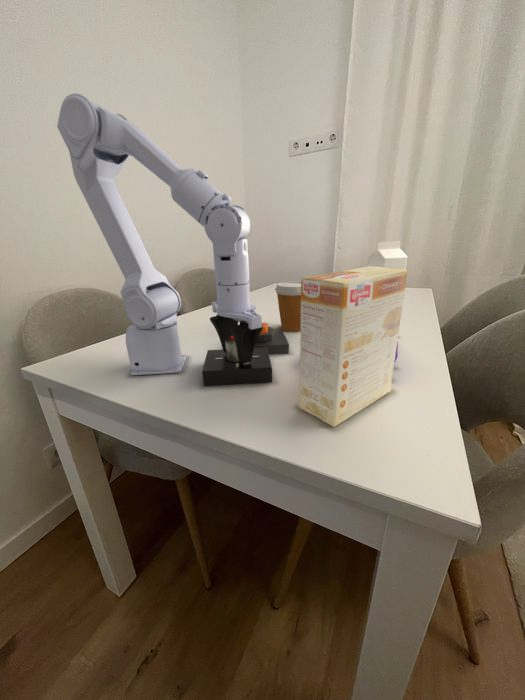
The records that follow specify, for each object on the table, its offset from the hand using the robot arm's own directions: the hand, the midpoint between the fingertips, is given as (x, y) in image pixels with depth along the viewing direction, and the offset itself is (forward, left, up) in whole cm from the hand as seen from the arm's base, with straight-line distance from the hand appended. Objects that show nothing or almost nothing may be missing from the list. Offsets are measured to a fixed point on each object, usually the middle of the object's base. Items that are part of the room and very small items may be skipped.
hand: (237, 356), depth 56 cm
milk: (+35, +17, -3) cm, 39 cm away
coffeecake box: (+17, -12, -3) cm, 21 cm away
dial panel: (0, 0, -3) cm, 3 cm away
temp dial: (0, 0, 0) cm, 0 cm away
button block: (+5, +13, -3) cm, 14 cm away
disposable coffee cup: (+15, +26, -3) cm, 30 cm away
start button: (+5, +13, 0) cm, 14 cm away
